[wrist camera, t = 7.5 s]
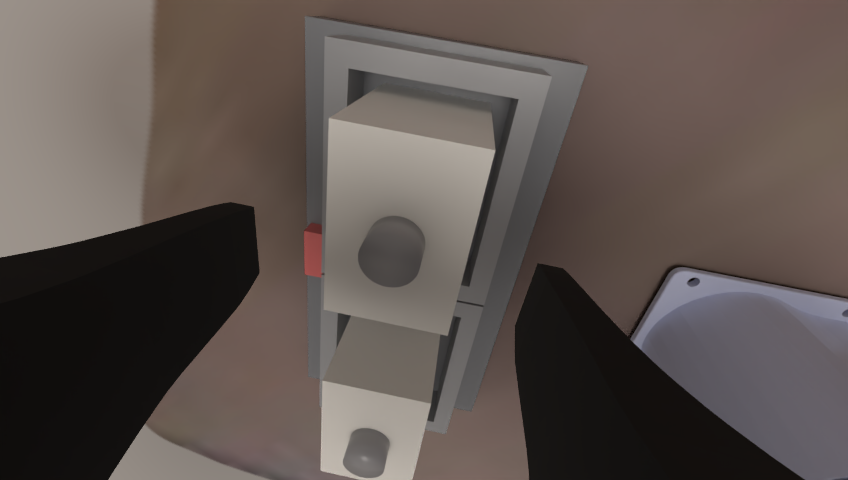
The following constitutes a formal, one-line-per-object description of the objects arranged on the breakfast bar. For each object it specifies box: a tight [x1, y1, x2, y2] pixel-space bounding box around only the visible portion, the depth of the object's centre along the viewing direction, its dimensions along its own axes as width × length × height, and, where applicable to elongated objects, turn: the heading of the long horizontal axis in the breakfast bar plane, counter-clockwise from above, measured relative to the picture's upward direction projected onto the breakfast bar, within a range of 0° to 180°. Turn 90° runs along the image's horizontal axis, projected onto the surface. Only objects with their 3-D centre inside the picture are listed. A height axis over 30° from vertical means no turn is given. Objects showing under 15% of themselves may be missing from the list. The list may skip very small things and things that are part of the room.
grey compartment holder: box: [304, 16, 588, 480], centre depth 16 cm, size 10×19×8 cm, turn 171°
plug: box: [324, 83, 495, 336], centre depth 13 cm, size 4×6×7 cm, turn 171°
